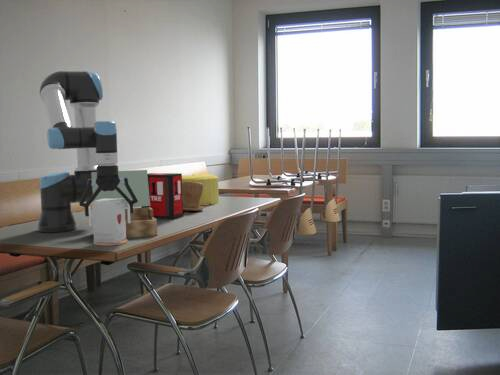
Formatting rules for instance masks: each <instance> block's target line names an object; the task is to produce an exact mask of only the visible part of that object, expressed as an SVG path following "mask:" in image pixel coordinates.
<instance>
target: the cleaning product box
mask: <svg viewBox="0 0 500 375" xmlns="http://www.w3.org/2000/svg"><path fill="white" fill-rule="evenodd" d="M182 174H183V173H171V172H170V173H164V172H163V173H158V172H157V173H155V172H153V173H152V172H149V173H147V176H148V187H149V197H150V206H140V208H148V207H151V208H152V209H153V217H154V218H155V219H156V220H170V219H171V220H177V219H181V218H183V217H184V211H183V198H182V176H183V175H182Z"/></svg>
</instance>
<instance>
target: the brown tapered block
mask: <svg viewBox="0 0 500 375" xmlns="http://www.w3.org/2000/svg"><path fill="white" fill-rule="evenodd" d="M202 191H203V184H202V183H198V182H189V181H184V182H183V183H182V195H183V212H198V211H203V210H204V206H200V204H199V201H200V198H201V195H202Z"/></svg>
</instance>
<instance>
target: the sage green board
mask: <svg viewBox="0 0 500 375" xmlns="http://www.w3.org/2000/svg"><path fill="white" fill-rule="evenodd" d="M147 174H148V170H147V169H140V170H139V169H136V170H135V169H134V170H118V176H119V179H122V178H125V177H126V178H127V179H128V184H129V186H130V188H131V189H132V191H133V193H134V195H135V196H136V198H137V200H138V202H137V203H134V204H133V208H141V206H150V197H149V187H148V176H147ZM91 175H92V180H96V179H97V172H91ZM98 187H99V186H98V185H97V184H96V183H94V185H93V186H92V189H93V193H94V192H95V191H96V189H97V188H98ZM118 187H119V188H120V190H121V191H122V192H123V193H124V194H125V195H126V196H127V197H128V198H129V199H130V200H131V201H132V200H133V199H132V197H131V195H130V194H129V192H128V190H127V188H126V186H125V184H122V182H120V183H119V184H118ZM119 198H122V199H124V198H123V197H122V196H121V195H120V194H119V192H118V191H117V190H116V189H115V190H113V191H102V190H101V192H100V193H99V194H98V195H97V196H96V198H95V199H94V200H93V201H96V200H100V199H119ZM127 204H129V203H128V202H127V201H126V200H125V208H127Z"/></svg>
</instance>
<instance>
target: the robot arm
mask: <svg viewBox="0 0 500 375" xmlns="http://www.w3.org/2000/svg"><path fill="white" fill-rule="evenodd" d="M39 95H40V100H41V102H43V103H44V105H45V108H46V115H47V117H48V122H49V125H50V128H48V129H47V131H46V132H47V133H46V140H47V146H48V148H49V149H51V150H65V149H66V150H67V149H68V150H70V149H76V160H77V166H76V167H75V169H74V170H73V172H74V173H73V174H71V173H70V172H69V171H60V172H55V173H54V172H53V173H49V174H45V175H42V176H41V177H40V179H39V190H40V208H41V211H40V216H39V220H38V223H37V231H38V232H40V233H60V232H61V233H62V232H68V231H69V232H70V231H73V230H76V229H77V221H76V219H75V216H74V214H73V211H72V204H78V203H79V204H78V205H79V206H80V207H83V208H84V215H85V217H88V226H89V227H93V224H92V210H91V208H92V206H90V205H91V204H92V202H93V200H94V199H95V198H96V196H97V195H98V194H99V193H100V192H101V190H102V191H113V190H115V189H116V190H117V191H118V192H119V194H120V195H121V196H122V197H123V198H124V199H125V200H126V201H127V202H128V203H129V204H127V207H126V209H127V221H128V223H131V222H130V214H132V213H133V208H134V207H133V204H134V203H137V202H138V200H137V198H136V196H135V195H134V193H133V191H132V189H131V188H130V186H129V184H128V179H127V178H126V177H125V178H122V179H119V176H118V171H119V166H118V163H119V161H118V159H119V158H118V157H119V156H118V134H117V132H118V130H117V124H116V122H115V121H112V120H103V121H97V115H96V114H97V113H96V111H97V109H96V108H97V107H98V106H99V105H100V101H102V99H103V96H104V95H103V85H102V81H101V78H100V76H99V75H98V74H97V72H94V71H93V72H92V71H69V70H68V71H66V70H65V71H63V70H60V71H55V72H52V73H50V74H49V75H47V76H46V77H45V78H44V79H43V81H42V82H41V84H40V87H39ZM66 101H69V106H71V107H72V108H73V110H74V125H75V126H73V123H72V120H71V116H70V113H69V109H68V106H67V102H66ZM91 172H97V179H96V180H92V175H91ZM120 182H122V184H125V186H126V188H127V190H128V192H129V194H130V195H131V197H132V199H133V200H132V201H131V200H130V199H129V198H128V197H127V196H126V195H125V194H124V193H123V192H122V191H121V190H120V188H119V187H118V184H119V183H120ZM94 183H96V184H97V185H98V186H99V187H98V188H97V189H96V191H95V192H94V193H93V189H92V186H93V185H94Z"/></svg>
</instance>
